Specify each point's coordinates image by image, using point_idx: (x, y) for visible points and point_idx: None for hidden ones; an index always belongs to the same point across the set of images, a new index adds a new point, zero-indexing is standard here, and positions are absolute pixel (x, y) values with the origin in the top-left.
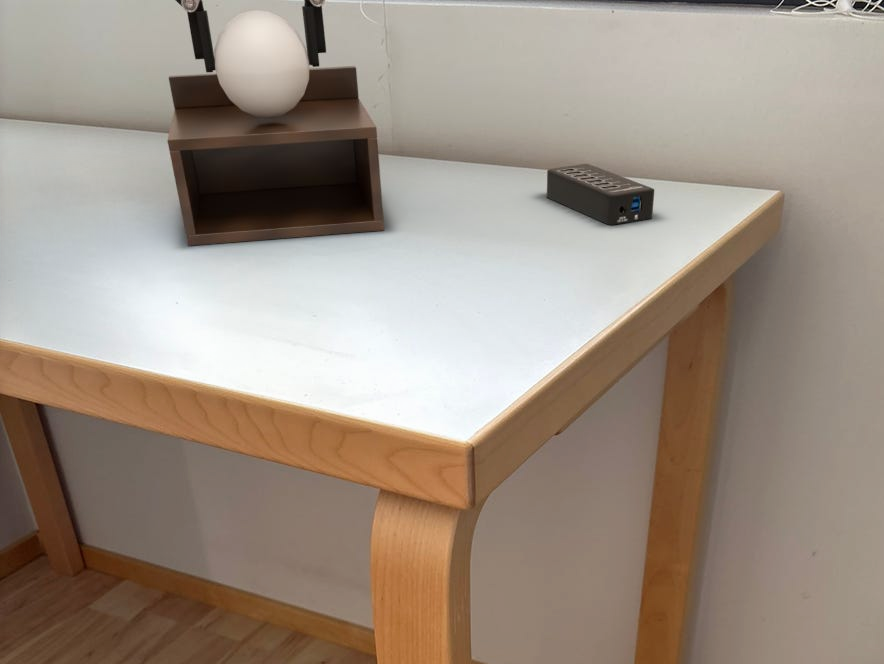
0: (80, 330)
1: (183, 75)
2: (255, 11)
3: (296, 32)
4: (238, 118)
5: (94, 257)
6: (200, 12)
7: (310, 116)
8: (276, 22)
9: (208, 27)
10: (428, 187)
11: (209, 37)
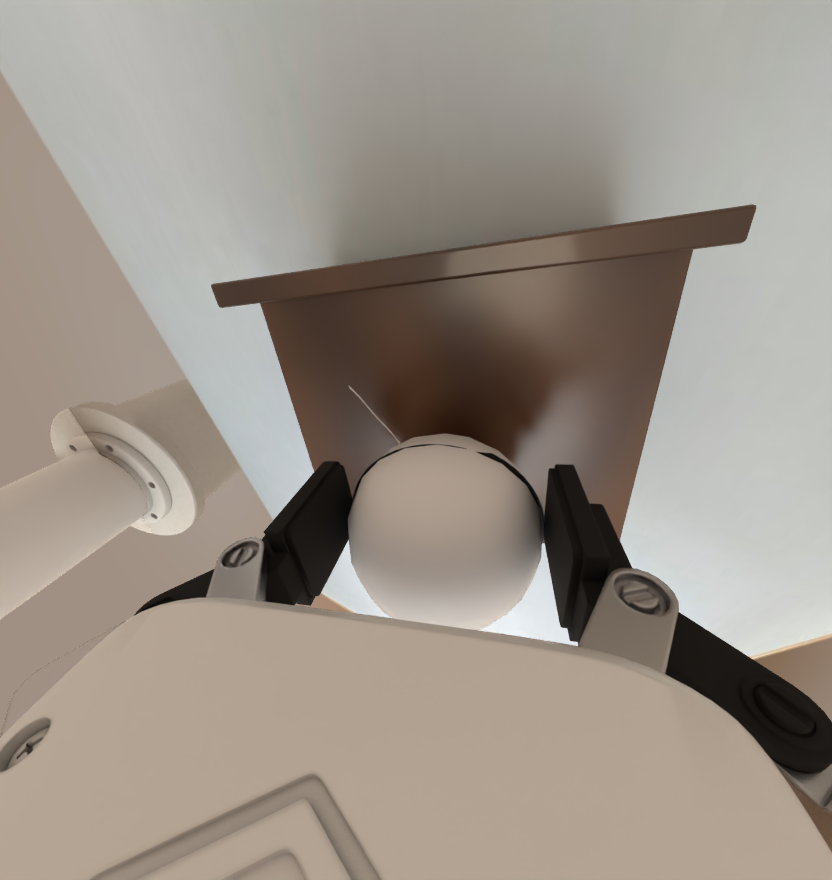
0: (347, 589)
1: (240, 287)
2: (428, 621)
3: (525, 589)
4: (398, 428)
5: (300, 469)
6: (305, 603)
7: (524, 448)
8: (478, 629)
9: (326, 567)
10: (750, 232)
11: (335, 563)
